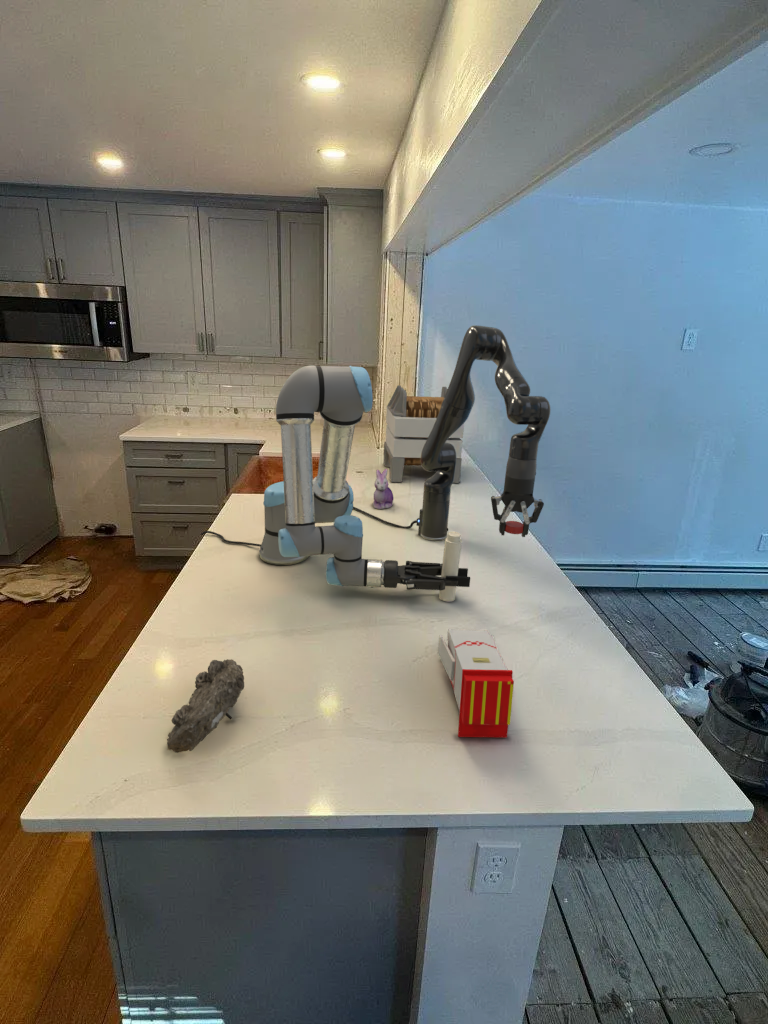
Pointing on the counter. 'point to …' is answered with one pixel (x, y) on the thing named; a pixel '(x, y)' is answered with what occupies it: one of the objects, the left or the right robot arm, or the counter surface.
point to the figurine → (382, 491)
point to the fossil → (206, 705)
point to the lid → (514, 527)
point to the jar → (450, 564)
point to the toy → (478, 682)
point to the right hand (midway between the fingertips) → (512, 534)
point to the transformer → (413, 432)
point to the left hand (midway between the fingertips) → (468, 577)
